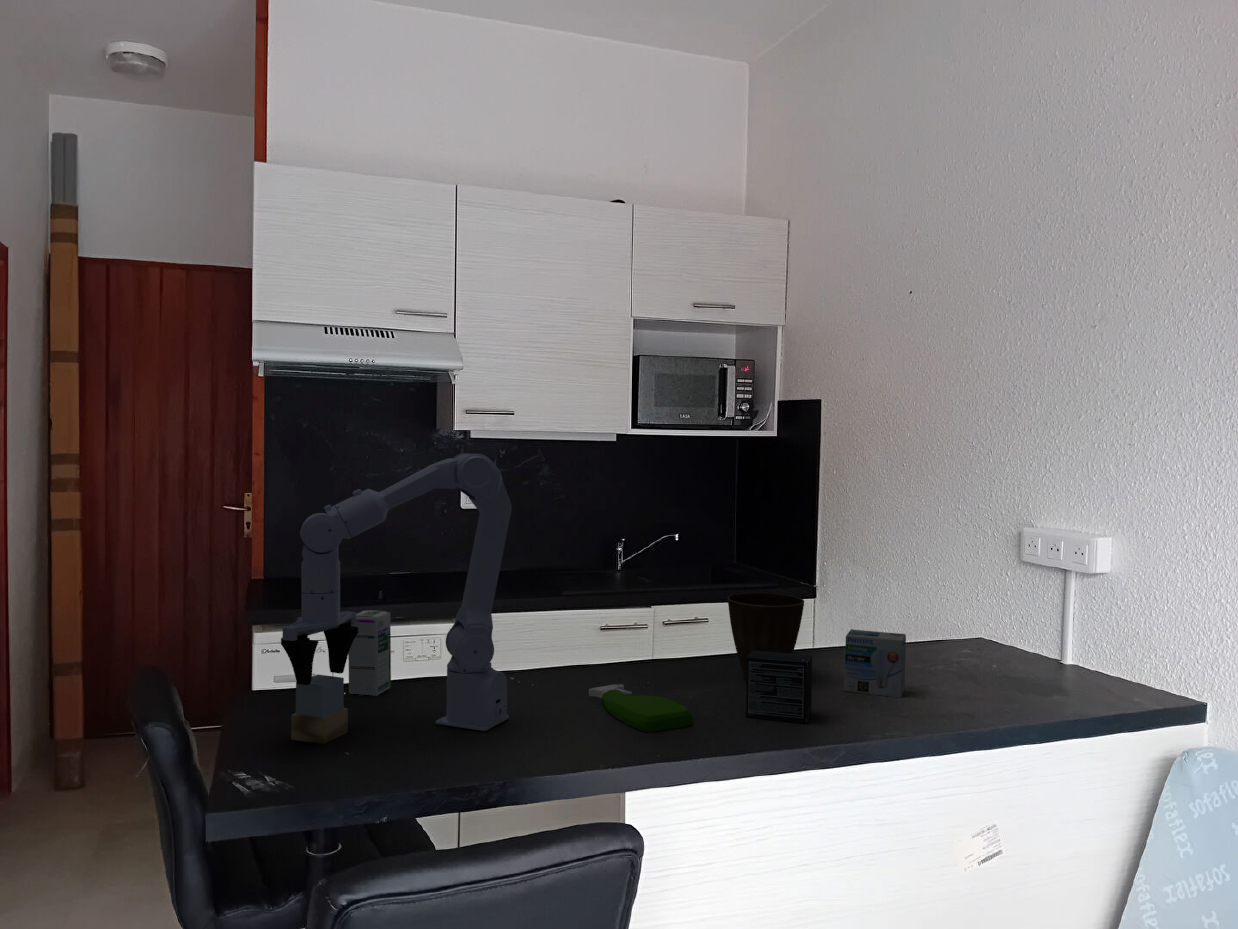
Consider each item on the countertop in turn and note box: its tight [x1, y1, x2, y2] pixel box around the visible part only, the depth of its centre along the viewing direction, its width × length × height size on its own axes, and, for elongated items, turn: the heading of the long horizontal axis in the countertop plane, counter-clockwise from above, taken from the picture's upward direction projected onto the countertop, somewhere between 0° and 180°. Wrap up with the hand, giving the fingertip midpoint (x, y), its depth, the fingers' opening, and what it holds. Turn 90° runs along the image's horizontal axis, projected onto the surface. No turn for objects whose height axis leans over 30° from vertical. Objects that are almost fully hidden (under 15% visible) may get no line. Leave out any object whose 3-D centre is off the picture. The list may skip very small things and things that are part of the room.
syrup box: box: [347, 609, 392, 697], centre depth 169 cm, size 6×6×14 cm
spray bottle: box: [588, 684, 693, 733], centre depth 160 cm, size 3×11×24 cm
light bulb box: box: [843, 628, 907, 699], centre depth 175 cm, size 11×7×11 cm, turn 68°
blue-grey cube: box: [295, 674, 345, 718], centre depth 143 cm, size 5×5×5 cm
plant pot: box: [727, 592, 805, 680], centre depth 182 cm, size 15×15×16 cm
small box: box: [745, 651, 813, 725], centre depth 158 cm, size 11×6×10 cm, turn 71°
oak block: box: [290, 707, 349, 745], centre depth 144 cm, size 6×6×4 cm
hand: (320, 678), depth 144 cm, fingers open, 7 cm apart
